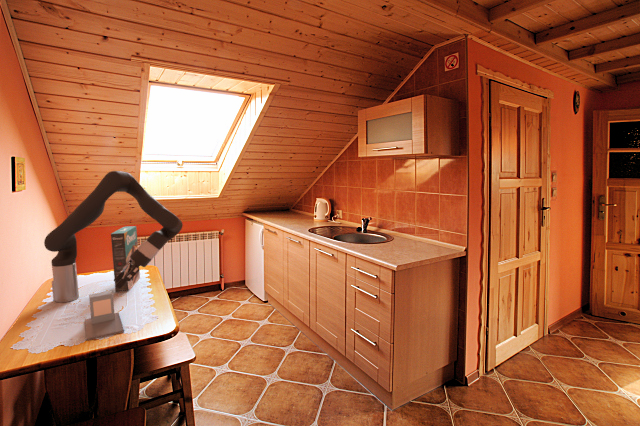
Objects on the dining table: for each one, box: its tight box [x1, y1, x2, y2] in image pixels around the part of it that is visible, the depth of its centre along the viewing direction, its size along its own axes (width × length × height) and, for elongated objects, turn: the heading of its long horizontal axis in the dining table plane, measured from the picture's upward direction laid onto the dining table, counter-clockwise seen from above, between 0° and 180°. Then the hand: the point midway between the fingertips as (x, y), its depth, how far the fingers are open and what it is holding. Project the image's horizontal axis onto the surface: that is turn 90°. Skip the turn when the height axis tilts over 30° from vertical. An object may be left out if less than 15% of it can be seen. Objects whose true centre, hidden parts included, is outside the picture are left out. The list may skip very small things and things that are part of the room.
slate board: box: [84, 312, 125, 342], centre depth 140 cm, size 20×12×1 cm, turn 35°
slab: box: [88, 290, 115, 324], centre depth 143 cm, size 8×4×11 cm, turn 125°
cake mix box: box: [110, 225, 141, 293], centre depth 188 cm, size 22×6×30 cm, turn 13°
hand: (116, 284), depth 145 cm, fingers open, 8 cm apart
